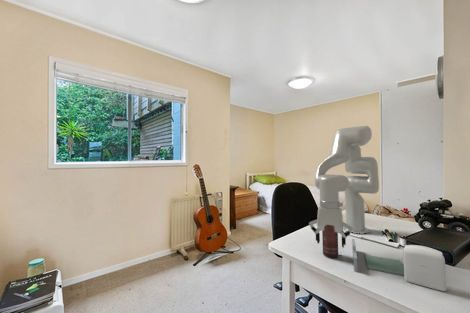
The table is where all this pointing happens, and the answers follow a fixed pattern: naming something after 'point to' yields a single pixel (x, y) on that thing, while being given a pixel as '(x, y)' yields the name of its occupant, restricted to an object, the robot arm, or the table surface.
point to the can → (330, 242)
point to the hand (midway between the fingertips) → (330, 244)
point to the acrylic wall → (354, 255)
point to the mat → (384, 265)
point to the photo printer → (424, 267)
